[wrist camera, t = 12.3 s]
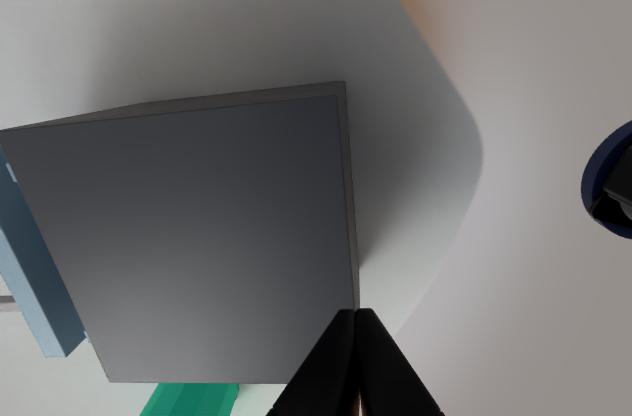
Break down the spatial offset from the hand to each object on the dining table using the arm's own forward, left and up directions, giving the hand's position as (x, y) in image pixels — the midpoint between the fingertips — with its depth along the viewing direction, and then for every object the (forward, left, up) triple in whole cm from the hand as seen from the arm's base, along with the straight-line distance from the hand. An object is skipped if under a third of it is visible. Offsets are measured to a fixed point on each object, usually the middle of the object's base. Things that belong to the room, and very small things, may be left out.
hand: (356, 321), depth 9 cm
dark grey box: (+5, +2, -12) cm, 13 cm away
